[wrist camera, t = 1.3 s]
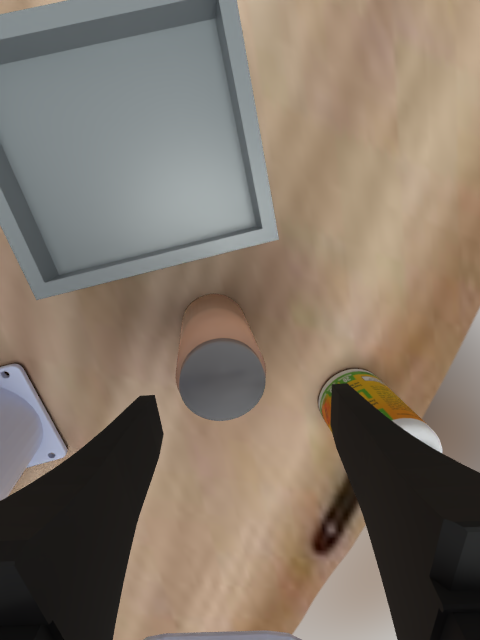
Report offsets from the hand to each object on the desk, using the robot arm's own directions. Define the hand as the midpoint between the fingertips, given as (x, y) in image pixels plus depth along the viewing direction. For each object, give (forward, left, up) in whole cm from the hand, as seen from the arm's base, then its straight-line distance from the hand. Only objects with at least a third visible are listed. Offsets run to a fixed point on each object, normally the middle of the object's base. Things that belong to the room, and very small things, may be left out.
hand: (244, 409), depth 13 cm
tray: (-3, +11, -10) cm, 15 cm away
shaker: (-1, 0, -10) cm, 10 cm away
